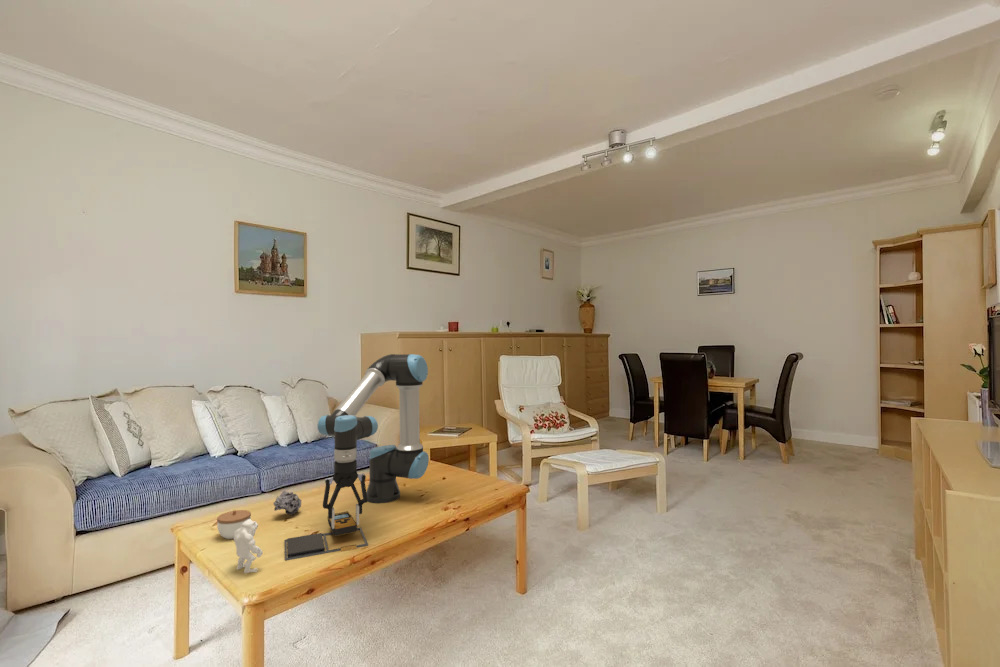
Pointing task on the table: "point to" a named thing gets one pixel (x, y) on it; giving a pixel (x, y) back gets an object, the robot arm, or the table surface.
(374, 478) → the robot arm
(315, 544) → the grey flat frame
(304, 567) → the table surface
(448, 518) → the table surface
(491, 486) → the table surface
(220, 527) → the lidded jar
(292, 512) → the mineral specimen
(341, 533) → the electronic device
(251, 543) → the figurine
